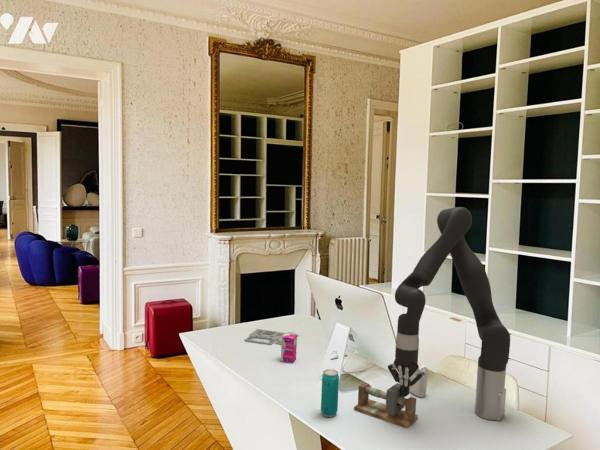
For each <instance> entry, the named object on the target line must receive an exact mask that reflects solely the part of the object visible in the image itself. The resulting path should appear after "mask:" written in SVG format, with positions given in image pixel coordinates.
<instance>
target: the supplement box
mask: <svg viewBox="0 0 600 450" xmlns="http://www.w3.org/2000/svg"><path fill="white" fill-rule="evenodd" d="M297 335H298V334H297ZM297 335H294V334H284V335H283V337H282V344H281V345H280V347H281V349H280V351H281V352H280V362H281V363H288V364H294V362H295V361H296V360H297V348H298V347H297V345H298V337H297Z"/></svg>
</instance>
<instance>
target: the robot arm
mask: <svg viewBox="0 0 600 450" xmlns="http://www.w3.org/2000/svg"><path fill="white" fill-rule="evenodd" d="M436 220H437V221H436V224H437V228H438V230H439V232H440V236H439V237H438V239H436V241H435V242H434V243H433V244H432V245H431V246H430V247H429V248H428V250H426V251H425V253H424V254H422V256H421V257H420V259H419V260H418V262H417V264H416V266H415V267H414V268H413V270H412V272H411V273H409V274H408V276H407V277H406V278H405V279H404V280H403V281H402V282H401V283H400V284H399V285H398V286H397V288H396V290H395V292H394V299H395V302H396V303H397V304H398V305H399V306H401V307H404V308H406V309H407V310H406V312H405V313H401V314H400V315H399V316H398V317H397V331H396V337H395V349H394V351H395V355H394V357H395V358H394V360H393V363H390V364H388V366H387V369H388V371H389V372H390V374H391V376H392V377H393V380H394V381H395V382H396V383H399V384H400V394H401V396H404V398H406V397H407V396H408V395H409V394H410V392H409V391H410V386H413V385H414V384H415V383H416V382H417V381H418V380H420V379H421V378H422V377H423V376H424V375H425V373H424V372H421V371H420V370H419V369H418V368H419V366H418V362H419V350H420V349H419V347H420V346H419V345H420V337H419V335H420V334H419V333H420V322H421V319H422V315H423V312H424V309H425V305H426V301H427V300H426V296H425V293H424V291H423V290H422V289H420V288H421V287H428V286H430V285H431V284H432V282H433V280H434V279H435V277H436V275H437V274H438V272H439V270H440V268H441V267H442V265H443V264H444V262H445V260H446V259H447V258H448V256H451V260H452V262H453V264H454V267H455V270H456V274H457V276H458V279H459V282H460V285H461V289H462V291H463V292H464V295H465V297H466V300H467V302H468V303H469V306H470V308H471V310H472V312H473V316H474V317H473V318H474V319H475V323H476V325H475V326H476V328H477V333H478V336H479V339H480V340H481V348H480V355H479V356H478V358H477V359H478V360H477V373H476V385H475V386H476V387H475V388H476V389H475V402H474V403H475V404H474V413H475V415H476V416H478V417H479V418H482V419H485V420H490V421H498V422H501V420H502V419H503V418H504V416H505V411H506V397H507V389H506V373H507V365H508V363H509V359H510V347H511V335H510V332H509V330H508V328H506V327H505V325H504V324H503V322H502V321H501V320H500V318H499V315H498V313H497V311H496V309H495V306H494V303H493V295H492V288H491V284H490V280H489V278H488V274H487V271H486V268H485V266H484V265H483V263H482V261H481V260H480V259H479V257H478V256H477V255H476V254H475V252H474V251H473V250H472V249H471V248H470V247H469V246H470V245H468V243H467V241H466V239H465V235H466V234H467V233H468V231H469V230H470V228H471V227H472V224H473V216H472V213H471V211H470V210H469V209H468V208H466V207H463V206H458V207H457V206H456V207H449V208H445V209H443V210H441V211H440V212H439V213H438V216H437V219H436ZM415 372H416V377H415V378H414V379H413V380H412V381H411V378H412V375H413V374H414V373H415Z"/></svg>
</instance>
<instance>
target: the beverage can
mask: <svg viewBox="0 0 600 450" xmlns="http://www.w3.org/2000/svg"><path fill="white" fill-rule="evenodd" d="M339 381H340V376H339V371H338V370H335V369H333V368H332V369H329V368H327V369H324V370H323V373H322V375H321V396H320V397H321V399H320V411H321V413H322V416H324V417H326V418H334V417H335V416H336V414H337V413H338V409H339V408H338V407H339V385H340V382H339Z"/></svg>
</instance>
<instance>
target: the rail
mask: <svg viewBox="0 0 600 450" xmlns="http://www.w3.org/2000/svg"><path fill="white" fill-rule="evenodd" d="M357 394H358V395H357V396H358V397H357V404H356V405H355V406H353V409H354V411H357V412H358V413H362V414H365V415H368V416H370V417H373V418H376V419H379V420H381V421H383V422H384V421H385V422H388V423H391V424H393V425H396V426H399V427H402V428H405V429H408V428H409V427H410V426H411V425H412V424H413V423H414V422H416V421H417V420H418V419H419V414H416V412H417V411H416V410H417V398H416V397H413V396H409V397H408V398H406V397H404V398H403V397H400V396H398V397H397V403H398V404H401V405H404V408H405V409H404V410H403V409H401V410H400V411H399V412H398V413H396V414H395V415H394V416H393V415H390V414H387V413H386V403H383V402H380V401H375V400H373V399H370V398H369V395H370V396H371V397H375V398H379V399H383V400H385V401H386V395H387V391H383V390H382V389H378V388H375V387H370V383H367V382H363V383H361V384H360V385H358V393H357Z"/></svg>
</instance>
